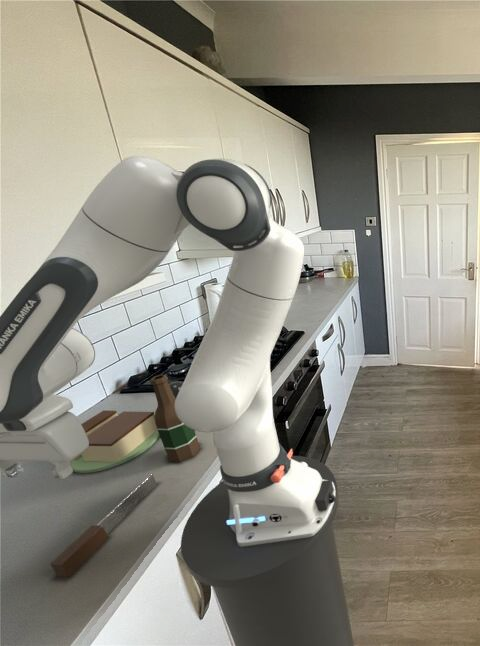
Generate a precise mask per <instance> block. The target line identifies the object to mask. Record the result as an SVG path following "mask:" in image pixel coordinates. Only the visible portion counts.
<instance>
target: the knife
mask: <svg viewBox="0 0 480 646" xmlns="http://www.w3.org/2000/svg"><path fill="white" fill-rule="evenodd" d="M156 486H158V483H157V480H156V478H155V476H154V473H150V474H149V475H148V476H146V478H145V479H144V480H143V481H142V482H141V483H139V485H137V486H136V487H135V488H134V489H133V490H132V491H130V493H129V494H128V495H126V496H125V498H123V500H122V501H120V503H118V504H117V505H116V506H115V507H114V508H113V509H112V510H111V511H110V512H108V514H106V515H105V516H104V517H103V518H102V519H101V520H100V521H99V522H98V523H97V524H96V525H95V524H94V525H93V524H92V525H90V526H89V527H88V528H87V529H86V530H85V531H84V532H83V533H81V535H79V537H77V538H76V539H75V540H74V541H73V542H72V543H71V544H70V545H69V546H68V547H67V548H66V549H65V550H63V551H62V552H61V553H60V554H59V555H58V556H57V557H55V559H53V561H52V562H51V563H50V564H49V565H50V567H51V568H52V571H54V573H55V575H56V576H57V577H58V578H70V577H71V576H73V574H74V573H75V572H76V571H77V570H78V569H79V568H81V566H82V565H83V564H84V563H85V562H87V560H88V559H89V558H90V557H91V556H92V555H93V554H94V553H95V552H96V551H97V550H98V549H99V548H100V547H101V546H102V545H103V544H104V543H105V542H106V541H107V540H108V539H109V536H108V534H109V533H110V532H111V531H112V530H113V529H114V528H115V527H116V526H117V525H118V524H119V523H120V522H121V521H122V520H124V518H125V517H126V516H128V515H129V513H130V512H131V511H132V510H133V509H134V508H135V507H136V506H137V505H138V504H139V503H140V502H141V501H143V499H145V498H146V496H147V495H148V494H149V493H150V492H151V491H152V490H153V489H154V488H155V487H156Z"/></svg>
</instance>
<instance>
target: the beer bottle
mask: <svg viewBox="0 0 480 646" xmlns="http://www.w3.org/2000/svg"><path fill="white" fill-rule="evenodd" d="M168 380H169V377H168V376H167V375H166V374H159V375H155V376H153V377H151V378H150V380H149V381H150V385H152V387H153V391H154V395H155V399H156V403H157V407H156V409H155V411H154V415H155V423H156V426H157V430H158V432H159V437H160V440H161V443H162V445H163V448H164V451H165V453H166V456H167V458H168V460H169V462H175V463H181V462H184V461H186V460H188V459H191V458H193V457H194V456H195V455H196V454H197V453H199V451H201V446H200V443H199V439H198V437H197V433H196V430H194V429H191V428H189V427H188V426H186V425H185V424H184V423H182V422H181V420H180V419H179V418H178V416H177V414H176V412H175V400H176V398H175V397H174V395H173V393H172V391H171V388H170V386H169V384H168Z"/></svg>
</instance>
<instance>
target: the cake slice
mask: <svg viewBox="0 0 480 646" xmlns="http://www.w3.org/2000/svg"><path fill="white" fill-rule="evenodd" d="M117 415H119V414H118V411H117V410H102V411H100V412H98V413H97V414H95V415H93V416H92V417H90V418H89V419H87V420H86V421H84V422H82V423H81V424H82V426H83V428H84V431H85V433H86V435H87V436H88V435H89V434H91V433H92V432H94V431H95V430H97V429H98V428H100V427H101V426H102V425H104V424H105V423H107V422H108V421H110V420H111V419H113V418H114V417H116V416H117ZM81 456H82V455H81V454H80V455H79V456H77V457H76V458H74V459H73V460H77V459H79V458H80V457H81Z"/></svg>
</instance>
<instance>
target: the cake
mask: <svg viewBox="0 0 480 646" xmlns="http://www.w3.org/2000/svg"><path fill="white" fill-rule="evenodd" d="M159 437H160V435H159V432H158V430H157V426H156V423H155V411H122V412H120V413H119V414H118V415H117V416H116V417H114V418H113V419H111V420H110V421H108V422H107V423H105V424H104V425H102V426H101V427H100V428H98V429H97V430H95V431H94V432H92V433H91V434H89V435H88V436H87V438H88V440H89V445H88V448H87V449H86V450H85V451H84V452H83V453H81V455H82V456H81V457H80V458H79V459H77V460H71V464H70V466H71V468H72V470H73V472H75V473H78V474H90V473H91V474H92V473H96V472H97V473H98V472H100V471H105V470H109V469H112V468H115V467H117V466H119V465H122V464H124V463H126V462H128V461H131V460H132V459H134V458H137V457H138V456H139V455H141V454H142V453H144V452H146V451H147V450H148V449H150V448H151V447H152V446H153V445H154V444H155V443H156V442H157V440H158V439H159Z"/></svg>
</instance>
